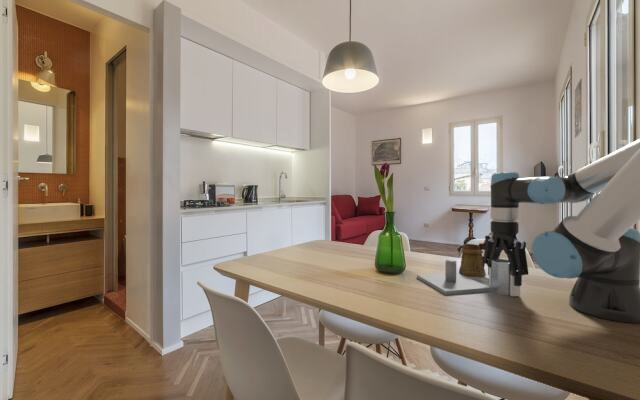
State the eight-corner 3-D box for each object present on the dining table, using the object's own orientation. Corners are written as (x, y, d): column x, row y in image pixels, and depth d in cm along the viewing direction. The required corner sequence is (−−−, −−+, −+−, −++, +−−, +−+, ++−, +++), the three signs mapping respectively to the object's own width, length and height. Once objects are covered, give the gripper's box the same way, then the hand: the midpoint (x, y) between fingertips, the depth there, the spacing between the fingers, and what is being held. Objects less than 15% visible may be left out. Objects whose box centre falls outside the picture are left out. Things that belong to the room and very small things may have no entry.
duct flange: (490, 291, 92) (490, 266, 92) (445, 294, 89) (445, 269, 89) (455, 275, 110) (455, 254, 109) (416, 277, 107) (416, 256, 107)
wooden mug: (501, 278, 105) (501, 230, 104) (460, 275, 109) (460, 229, 109) (495, 272, 113) (495, 227, 113) (457, 269, 118) (457, 226, 117)
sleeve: (521, 294, 89) (521, 262, 89) (503, 295, 88) (503, 263, 87) (504, 287, 95) (504, 257, 95) (487, 288, 94) (487, 258, 94)
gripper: (545, 223, 81) (544, 302, 82) (490, 217, 102) (489, 280, 102) (522, 224, 80) (521, 304, 81) (471, 218, 100) (471, 281, 101)
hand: (503, 290), depth 92 cm, fingers open, 8 cm apart
